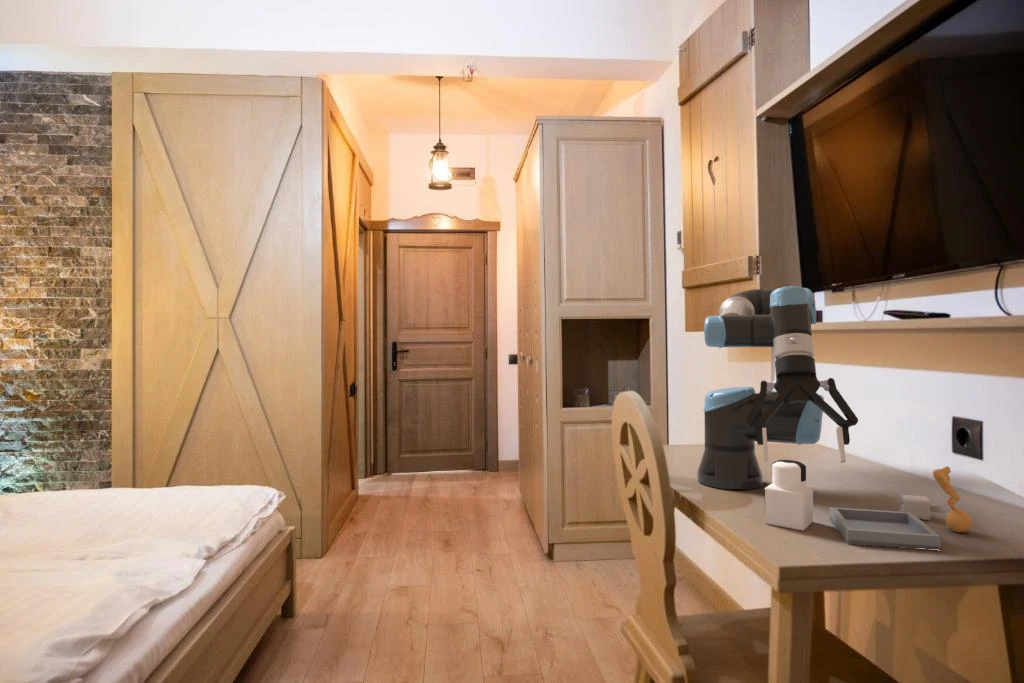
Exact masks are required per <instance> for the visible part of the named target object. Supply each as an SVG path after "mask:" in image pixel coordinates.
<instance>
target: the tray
mask: <svg viewBox="0 0 1024 683" xmlns="http://www.w3.org/2000/svg"><path fill="white" fill-rule="evenodd" d="M829 520H831V521H832V522H831V521H830V522H831V523H832V525H833V524H834V525H833V526H834V528H837V529H836V530H837V531H838V533H839V532H840V533H839V534H840V535H841V537H842V536H843V537H842V538H843V539H844V541H845V540H846V541H845V542H846V543H847V544H848V545H854V544H855V545H854V546H858V545H859V546H866V545H869V547H878V546H886V547H885V548H891V547H903V548H902V549H904V548H905V547H906V548H925V549H939V550H941V551H942V546H941V545H942V538H941V535H939V534H938V533H937V532H936V531H935V530H934V529H932V528H931V527H929V526H928V525H927V524H926V523H925V522H923V521H922V520H920V519H919V518H917V517H916V516H915V515H914V514H912V513H911V512H901V511H898V510H897V511H893V510H882V509H880V510H879V509H865V508H849V507H847V508H846V507H829ZM871 545H872V546H871ZM887 546H888V547H887Z"/></svg>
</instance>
